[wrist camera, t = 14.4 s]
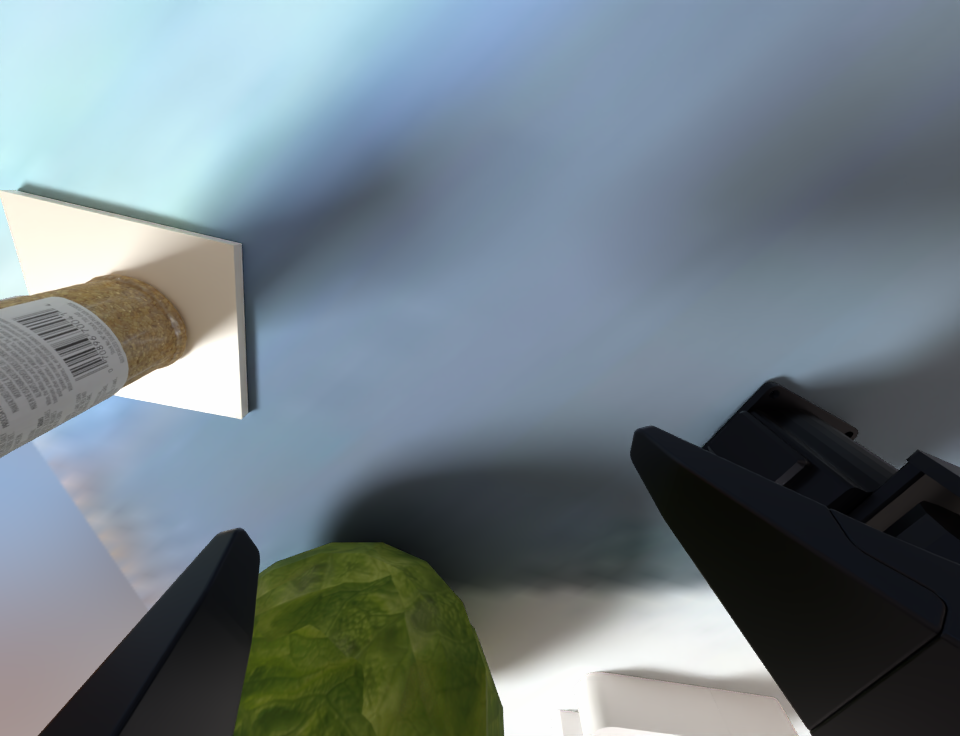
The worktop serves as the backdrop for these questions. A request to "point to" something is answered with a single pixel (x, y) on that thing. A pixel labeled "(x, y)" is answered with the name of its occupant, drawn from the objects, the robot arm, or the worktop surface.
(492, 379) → the worktop surface
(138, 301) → the sprinkles bottle
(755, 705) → the bracket
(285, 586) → the lettuce
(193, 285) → the pad
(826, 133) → the worktop surface
